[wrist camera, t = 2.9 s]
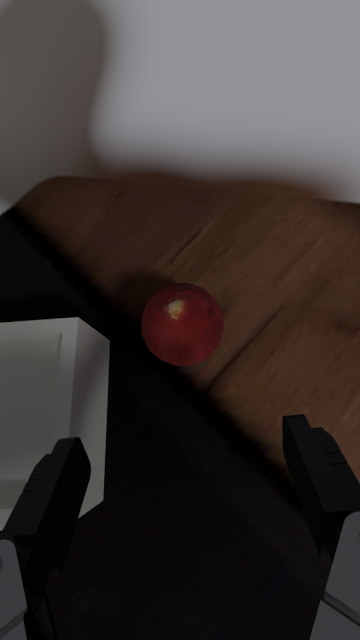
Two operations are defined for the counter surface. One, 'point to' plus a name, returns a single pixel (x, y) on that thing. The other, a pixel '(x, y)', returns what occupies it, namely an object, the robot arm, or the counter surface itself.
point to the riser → (50, 400)
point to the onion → (182, 324)
